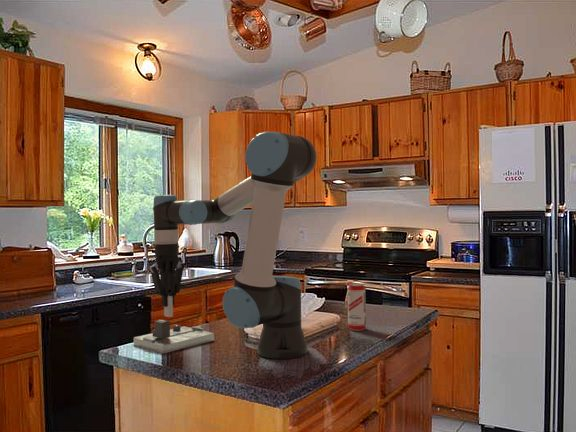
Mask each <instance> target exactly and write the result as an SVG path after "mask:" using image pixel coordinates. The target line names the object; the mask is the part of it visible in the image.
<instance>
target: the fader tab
mask: <svg viewBox="0 0 576 432" xmlns="http://www.w3.org/2000/svg"><path fill="white" fill-rule="evenodd" d="M170 322H171V321H170V320H166V319H158V320H154V329H155V337H157V338H161V339H163V338H168V337H170V329H171V323H170Z"/></svg>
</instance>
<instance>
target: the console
mask: <svg viewBox="0 0 576 432" xmlns="http://www.w3.org/2000/svg"><path fill="white" fill-rule="evenodd" d="M214 333H215V332H211V331H206V330H204V327H198V326H195V325H194V326H191V327H189V326H181V324H173V325H172V329H171V328H170V337H168V338H163V339H161V338H157V337H155V328H154V329H152V332H151V333H148V334H143V335H138V336H134V337H133V346H136V347H140V348H142V349H146V350H150V351H152V352H156V353H159V354H162V355H163V354H167V353H168V354H169V353H170V352H175V351H179V350H182V349H186V348H190V347H194V346H198V345H201V344H202V345H203V344H206V343H209V342H213V341H215V334H214Z"/></svg>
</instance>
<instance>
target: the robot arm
mask: <svg viewBox="0 0 576 432" xmlns="http://www.w3.org/2000/svg"><path fill="white" fill-rule="evenodd" d="M248 143H249V144H248V145H247V147H246V150H245V157H244V159H245V164H246V165H247V169H248V170H249V172H251V173H250V174H251V175H250V176H249V177H247V178H246V179H244V180H242V181H241V182H239V183H238V184H236V185H234V186H233V187H232V188H229V190H226V191H225V192H223V193H222V194H220V195H219V196H217V197H216V198H214V199H211V200H210V199H209V200H208V199H207V200H205V199H204V200H203V199H200V200H199V199H188V200H187V199H186V200H178V197H177V195H176V194H163V195H162V194H161V195H160V194H159V195H157V194H156V195H155V196H154V197H153V207H152V210H153V229H154V230H153V231H154V233H153V234H154V243H155V245H154V256H155V260H154V263H153V264H152V265H149V266H148V267H147V269H148V271H149V272H150V274H151V279H152V282H153V286H154V290H155V295H156V296H160V297H161V303H162V304H161V305H162V307H163V315H164V317H166V318H171V317H174V305H175V296H177V294H179V293H180V292H181V285H182V280H183V274H184V272H183V271H184V269H185V267H186V263H185V262H181V261H180V258H179V249H180V248H179V247H180V245H179V243H177V242H179V225H189V226H193V225H202V224H224V223H229V222H230V221H232V220H233V219H234V217H235V215H236V214H237V213H238V212H241V211H242V210H244V209H245V208H248V206H250V205H252V206H251V211H250V214H249V215H250V217H249V223H248V228H247V235H246V242H245V247H244V248H245V249H244V253H243V259H242V265H241V271H240V272H237V273H236V274H235V276H234V281H233V286H231V287H229V288H228V289H227V290H226V291H225V292H224V293H223V297H222V308H223V312H224V315H225V317H227V320H228V321H229V323H230V324H232V326H234V327H235V328H238V329H243V330H244V329H248V328H255V327H257V326H259V325H261V326H262V324H263V328H261V332H260V335H259V339H258V340H259V342H257V346H256V347H257V354H258V356H260V357H262V358H267V359H273V360H274V359H275V360H279V359H280V360H287V359H295V358H299V357H304V356H305V355H306V354H308V351H309V350H308V343H307V341H306V337H305V333H304V331H303V328H302V327H303V326H302V291H303V290H302V285H301V280H300V278H298V277H295V276H285V275H273V272H274V267H275V266H274V265H275V260H276V255H277V249H278V243H279V237H280V230H281V225H282V219H283V213H284V207H285V202H286V196H287V192H288V191H289V190H291V189H292V188H293V187H294V184H296V183H297V182H298V181H301V180H302V179H303V178H305V177H307V176H308V175H309V174H311V173H312V172H313V170H314V168H315V166H316V164H317V157H318V156H317V150H316V148H315V146H314V145H313V143H312V141H310V140H309V139H308V138H306V137H304V136H301V135H294V134H289V133H283V132H279V131H262V132H259V133H258V134H256V135H255V136H254V137H253V138H252V139H251V140H250V142H248Z"/></svg>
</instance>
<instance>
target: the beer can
mask: <svg viewBox="0 0 576 432" xmlns="http://www.w3.org/2000/svg"><path fill="white" fill-rule="evenodd" d="M348 285H349V286H348V288H347V328H348V329H349V330H350V331H354V332H361V331H362V332H363V331H364V330H365V329H366V326H367V324H366V323H367V322H366V321H367V318H366V312H367V311H366V306H367V305H366V304H367V302H366V288H365V286H364V284H363V283H353V282H352V283H349V284H348Z"/></svg>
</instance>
